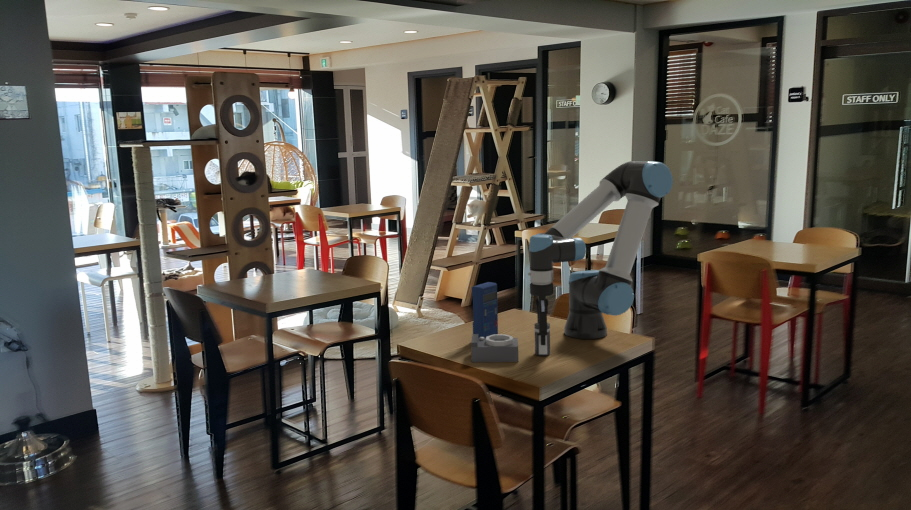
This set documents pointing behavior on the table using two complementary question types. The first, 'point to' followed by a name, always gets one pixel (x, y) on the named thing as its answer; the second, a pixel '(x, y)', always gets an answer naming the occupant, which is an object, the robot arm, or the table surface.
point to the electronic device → (485, 309)
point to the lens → (538, 339)
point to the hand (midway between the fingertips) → (542, 351)
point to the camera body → (494, 348)
